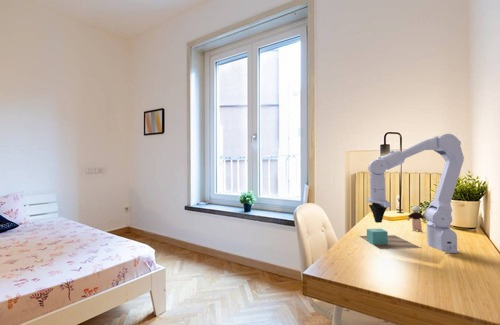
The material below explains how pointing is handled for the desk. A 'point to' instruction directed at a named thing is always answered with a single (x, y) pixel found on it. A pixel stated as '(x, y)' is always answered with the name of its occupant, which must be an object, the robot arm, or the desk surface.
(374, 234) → the teal mini fridge
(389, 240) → the plate
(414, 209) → the grandmother figurine
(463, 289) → the desk surface
